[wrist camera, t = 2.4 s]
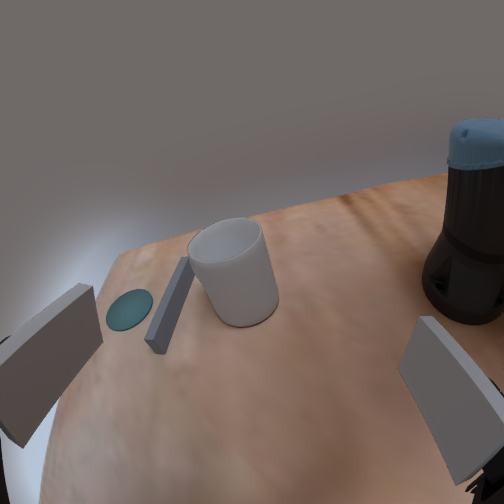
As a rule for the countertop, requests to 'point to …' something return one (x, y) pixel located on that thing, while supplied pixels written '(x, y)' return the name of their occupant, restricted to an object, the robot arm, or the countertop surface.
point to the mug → (235, 270)
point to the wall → (170, 307)
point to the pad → (129, 310)
